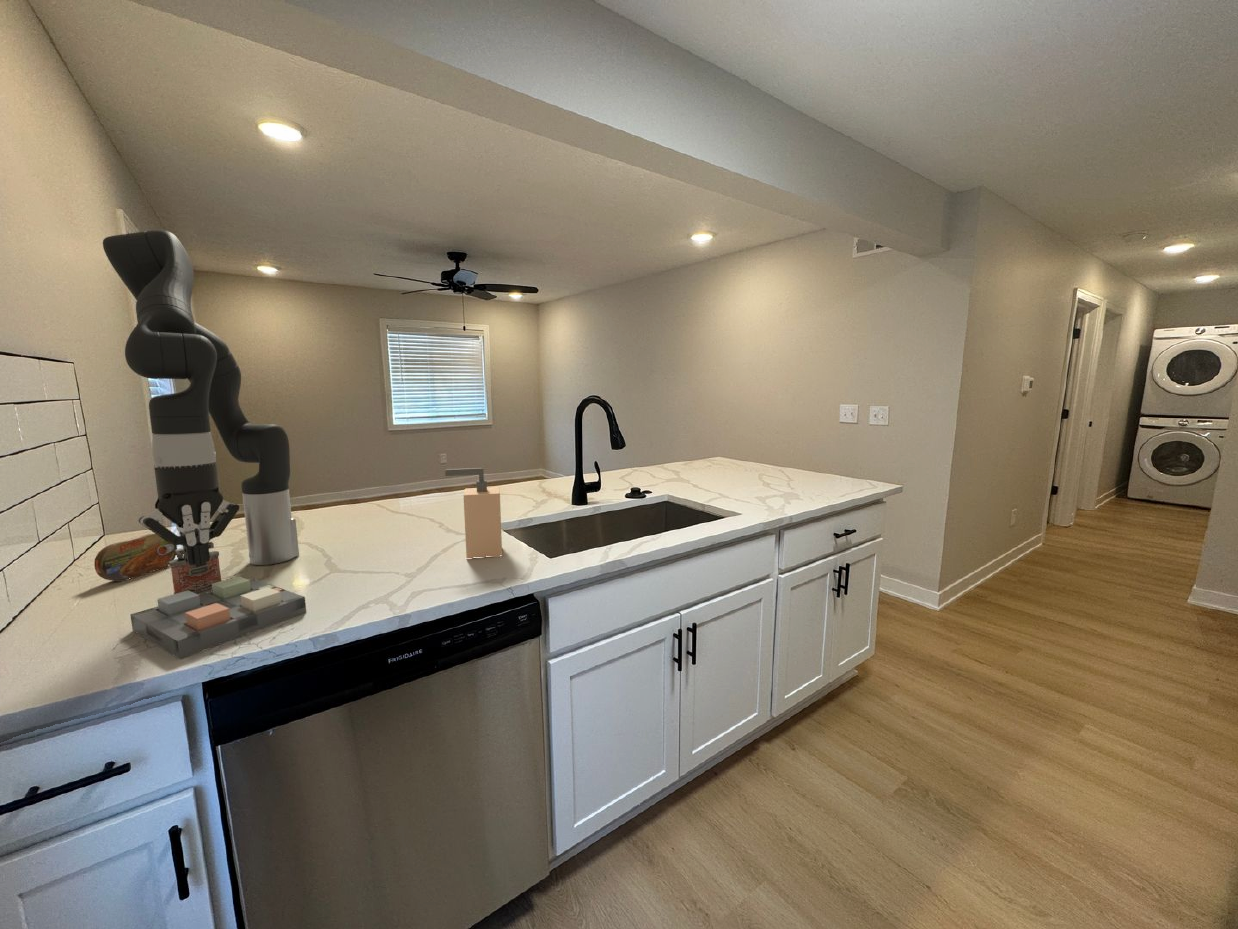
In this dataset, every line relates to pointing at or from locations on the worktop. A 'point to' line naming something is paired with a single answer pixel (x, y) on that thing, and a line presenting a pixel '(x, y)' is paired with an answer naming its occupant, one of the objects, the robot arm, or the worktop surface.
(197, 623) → the terracotta key
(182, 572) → the lighter
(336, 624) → the worktop surface
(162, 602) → the slate key
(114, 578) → the tin
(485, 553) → the soap dispenser
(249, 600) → the cream key
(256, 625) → the keypad
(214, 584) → the sage key
